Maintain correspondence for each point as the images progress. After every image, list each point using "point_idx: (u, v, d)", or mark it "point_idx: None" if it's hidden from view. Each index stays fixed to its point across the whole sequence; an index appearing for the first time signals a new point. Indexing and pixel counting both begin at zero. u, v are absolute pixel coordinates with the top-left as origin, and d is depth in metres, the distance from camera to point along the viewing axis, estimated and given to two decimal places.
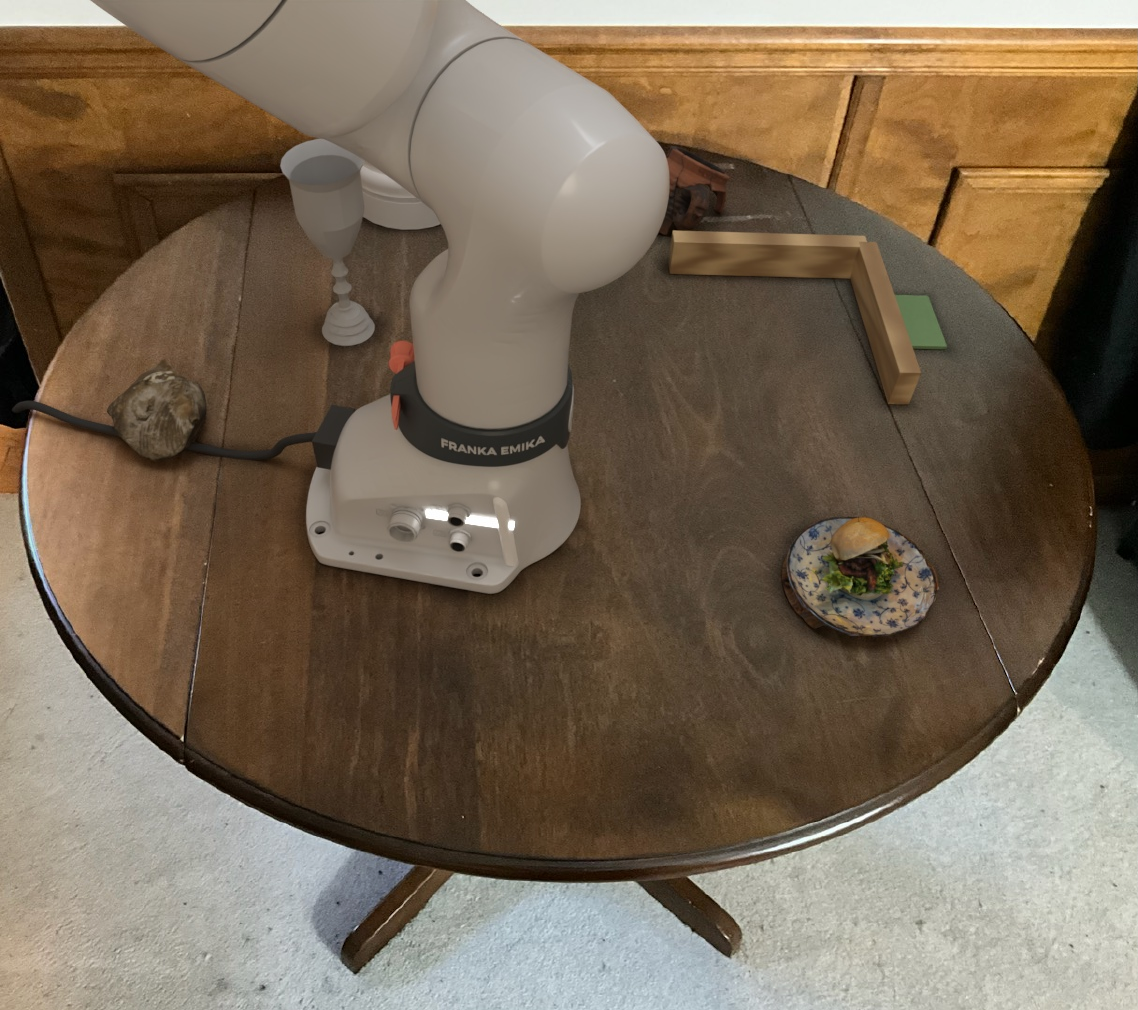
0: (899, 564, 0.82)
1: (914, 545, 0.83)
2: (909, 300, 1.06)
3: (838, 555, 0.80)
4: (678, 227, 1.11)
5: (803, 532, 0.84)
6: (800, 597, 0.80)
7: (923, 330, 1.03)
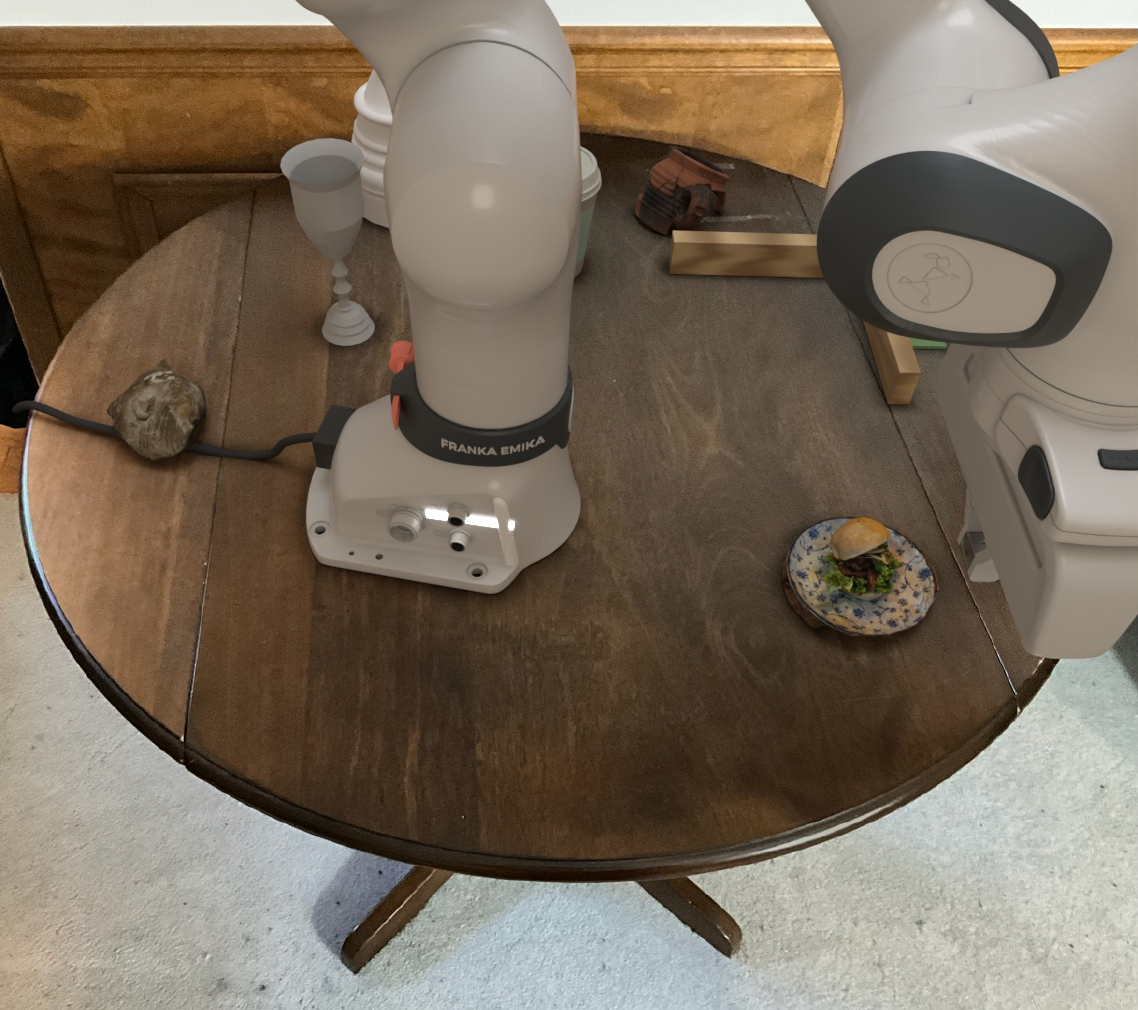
0: (899, 564, 0.82)
1: (914, 545, 0.83)
2: None
3: (838, 555, 0.80)
4: (678, 227, 1.11)
5: (803, 532, 0.84)
6: (800, 597, 0.80)
7: None
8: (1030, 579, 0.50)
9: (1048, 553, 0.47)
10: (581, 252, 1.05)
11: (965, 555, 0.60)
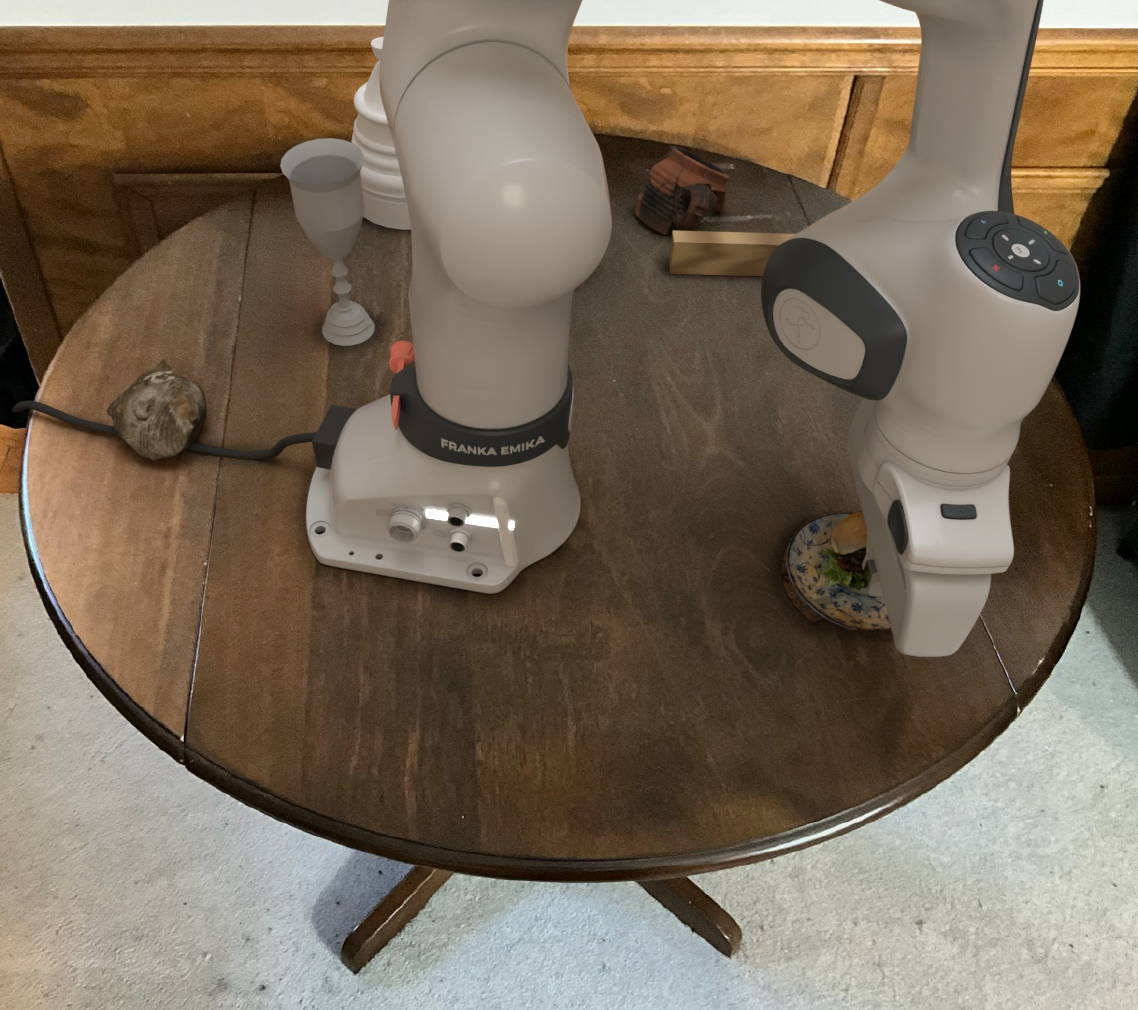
0: None
1: None
2: None
3: (837, 549, 0.81)
4: (678, 227, 1.11)
5: (804, 526, 0.84)
6: (799, 591, 0.80)
7: None
8: (900, 597, 0.67)
9: (907, 579, 0.64)
10: None
11: (866, 575, 0.77)
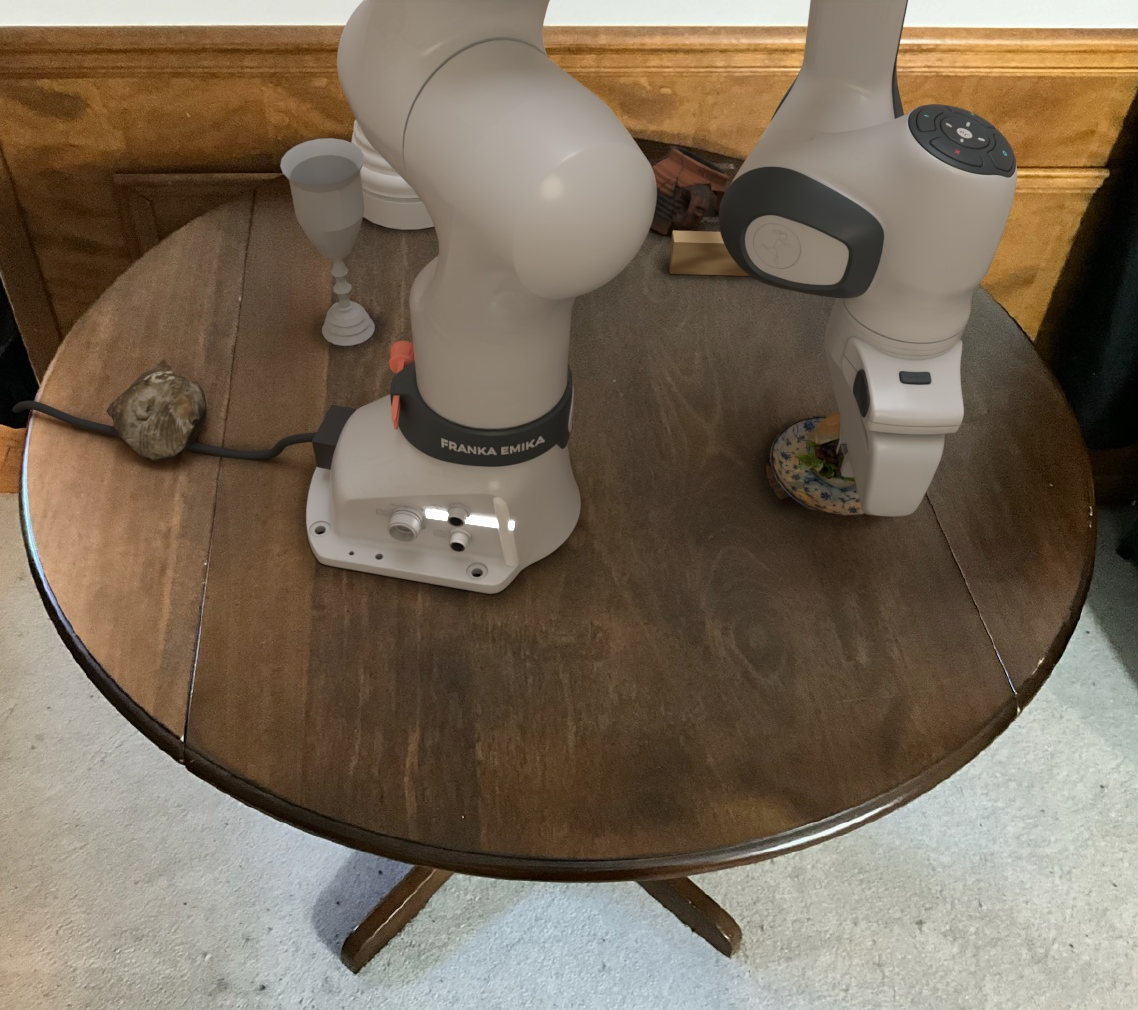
0: None
1: None
2: None
3: (818, 441, 0.88)
4: (678, 227, 1.11)
5: (798, 422, 0.92)
6: (774, 470, 0.88)
7: None
8: (865, 462, 0.75)
9: (869, 440, 0.72)
10: None
11: (839, 459, 0.85)
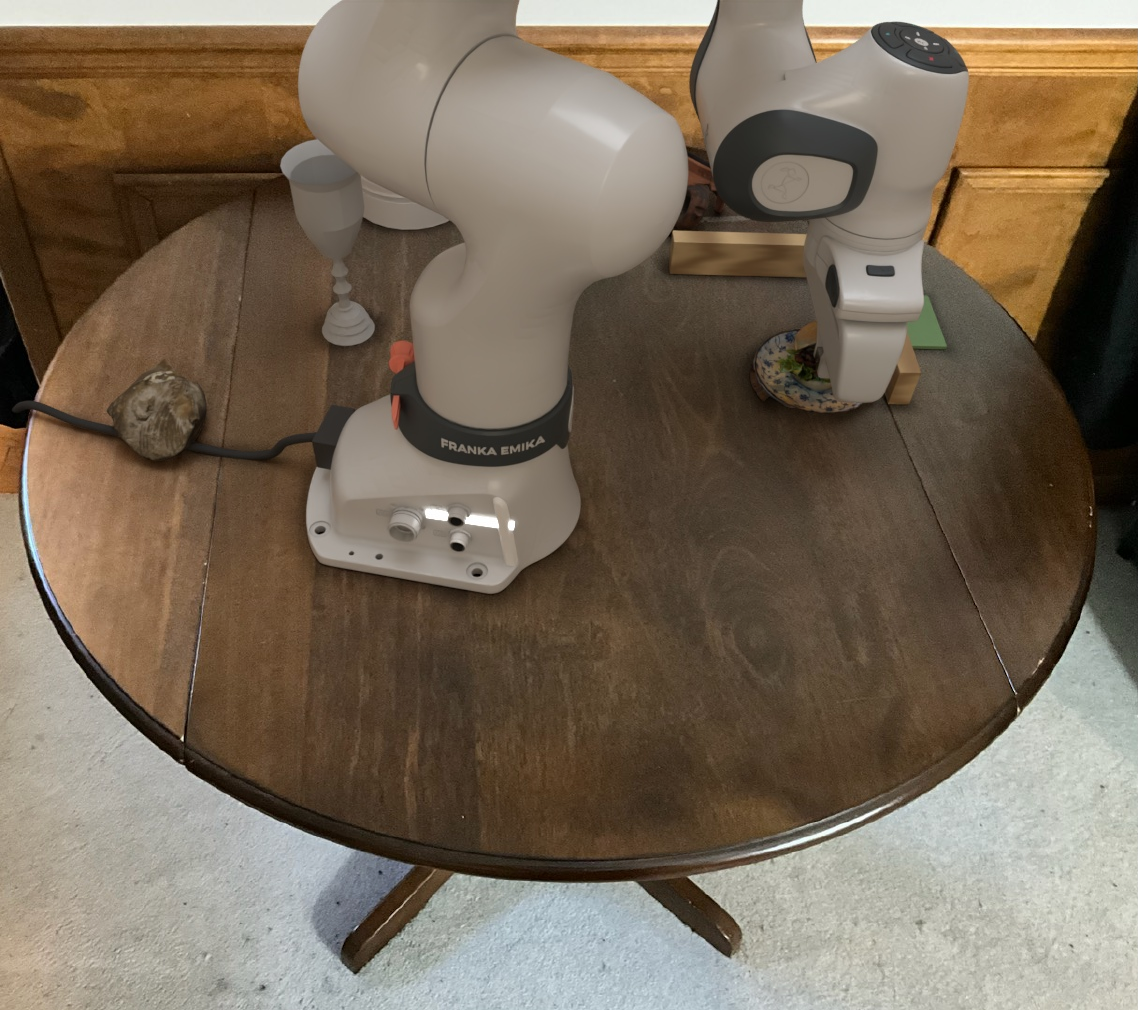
0: None
1: None
2: None
3: None
4: (678, 227, 1.11)
5: (780, 333, 1.00)
6: (757, 374, 0.96)
7: (923, 330, 1.03)
8: (837, 353, 0.83)
9: (839, 329, 0.80)
10: None
11: (816, 361, 0.93)
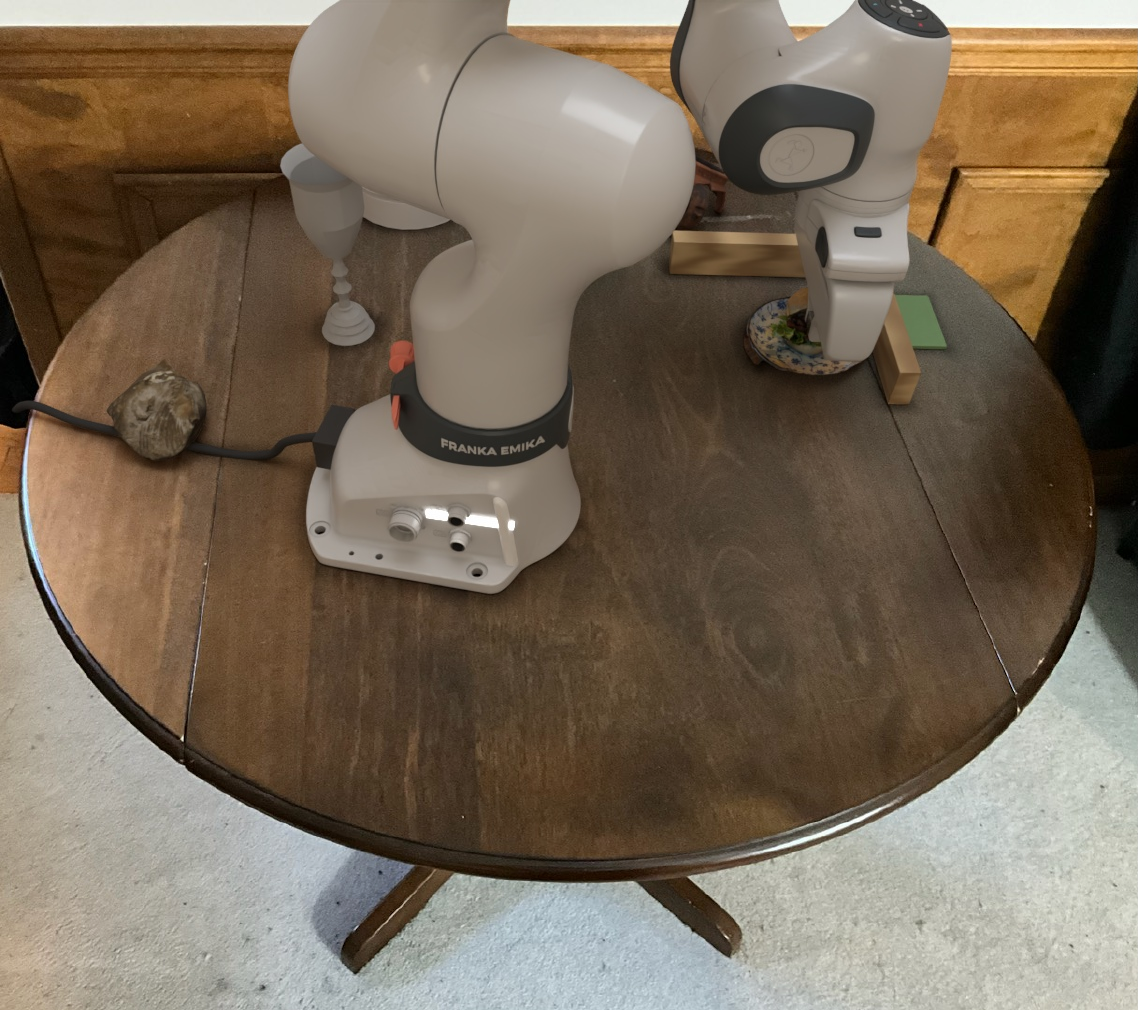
0: None
1: None
2: (909, 300, 1.06)
3: (789, 313, 0.99)
4: (678, 227, 1.11)
5: (772, 301, 1.03)
6: (750, 339, 0.99)
7: (923, 330, 1.03)
8: (826, 314, 0.86)
9: (829, 288, 0.83)
10: None
11: (807, 326, 0.96)
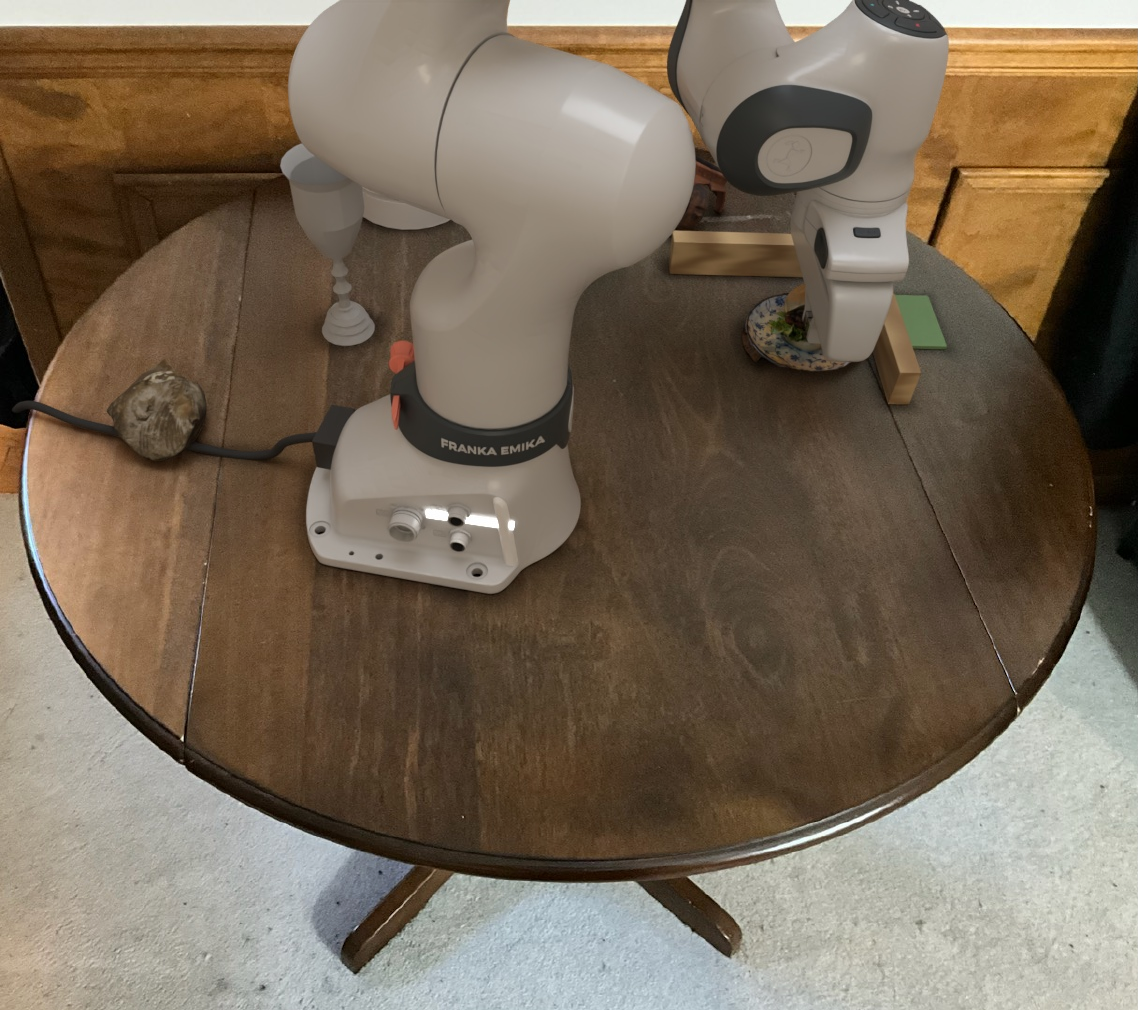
0: None
1: None
2: (909, 300, 1.06)
3: None
4: (678, 227, 1.11)
5: (770, 297, 1.04)
6: (749, 336, 1.00)
7: (923, 330, 1.03)
8: (826, 314, 0.86)
9: (829, 289, 0.83)
10: None
11: (805, 327, 0.96)
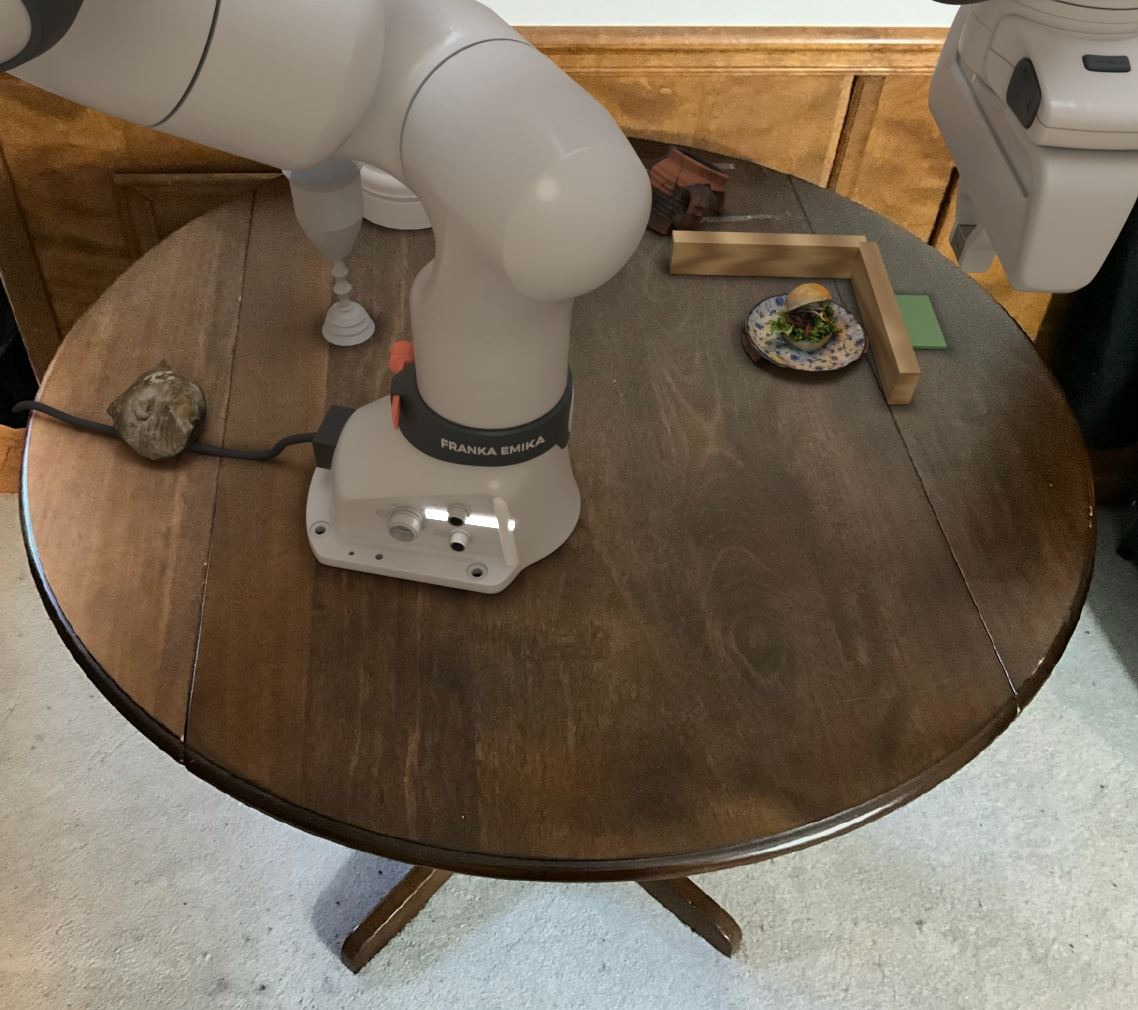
0: (839, 330, 1.00)
1: (858, 321, 1.02)
2: (909, 300, 1.06)
3: None
4: (677, 227, 1.11)
5: (770, 297, 1.04)
6: (749, 336, 1.00)
7: (923, 330, 1.03)
8: (1018, 214, 0.52)
9: (1035, 164, 0.49)
10: None
11: (956, 248, 0.62)
